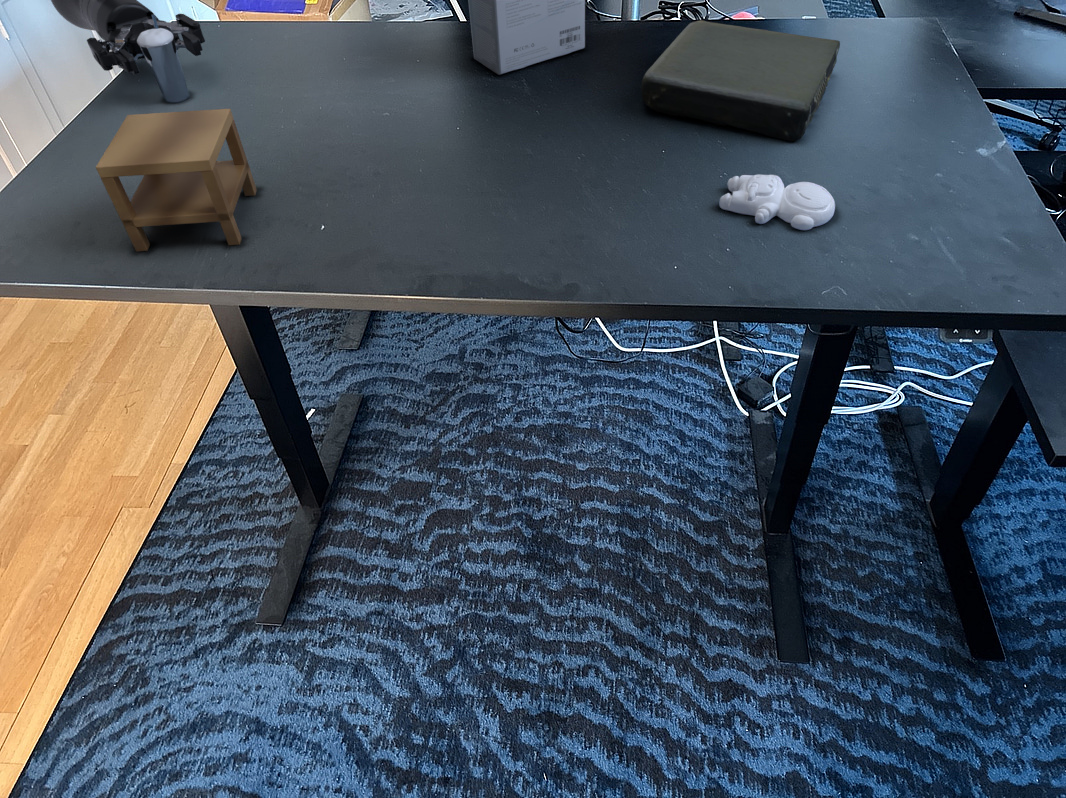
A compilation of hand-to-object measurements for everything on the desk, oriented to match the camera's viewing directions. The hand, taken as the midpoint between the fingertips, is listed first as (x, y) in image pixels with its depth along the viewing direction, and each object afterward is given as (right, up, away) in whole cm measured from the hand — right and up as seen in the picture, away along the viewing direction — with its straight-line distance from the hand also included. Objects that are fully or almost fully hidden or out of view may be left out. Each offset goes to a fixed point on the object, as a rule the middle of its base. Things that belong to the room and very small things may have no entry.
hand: (166, 57), depth 103 cm
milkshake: (-1, -3, +5) cm, 6 cm away
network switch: (+77, -5, +1) cm, 77 cm away
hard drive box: (+48, +6, +12) cm, 50 cm away
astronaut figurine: (+76, -24, -18) cm, 81 cm away
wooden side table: (+11, -26, -16) cm, 32 cm away
